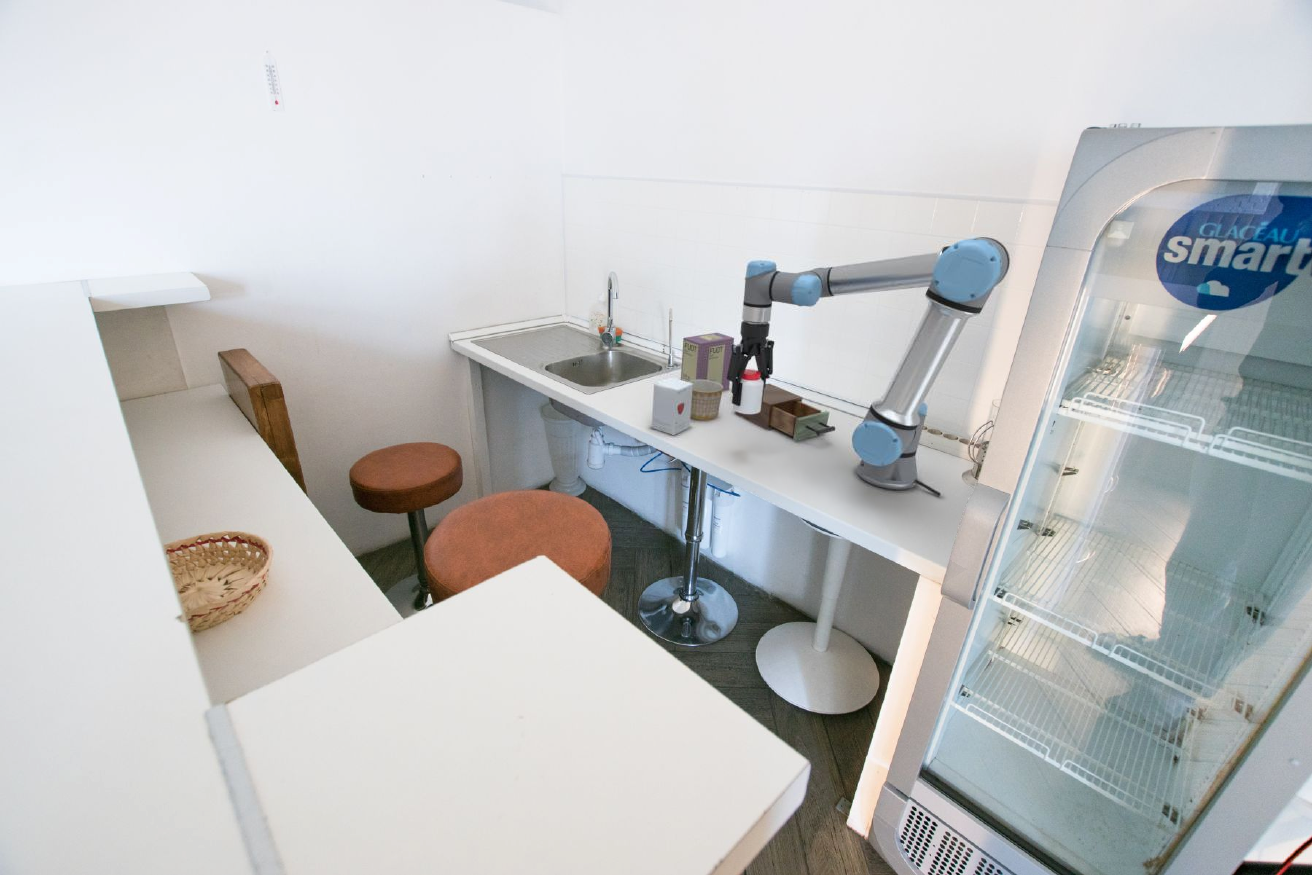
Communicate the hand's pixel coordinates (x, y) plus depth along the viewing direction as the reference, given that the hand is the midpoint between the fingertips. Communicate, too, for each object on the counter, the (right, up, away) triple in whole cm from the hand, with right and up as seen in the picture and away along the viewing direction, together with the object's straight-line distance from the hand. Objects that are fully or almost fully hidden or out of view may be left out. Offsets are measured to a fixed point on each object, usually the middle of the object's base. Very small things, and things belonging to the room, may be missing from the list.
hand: (747, 401), depth 162 cm
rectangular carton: (-21, -7, +20) cm, 30 cm away
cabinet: (+12, -3, +32) cm, 34 cm away
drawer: (+20, -8, +20) cm, 30 cm away
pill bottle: (0, -2, +1) cm, 2 cm away
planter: (-11, -3, +32) cm, 33 cm away
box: (-7, +8, +55) cm, 56 cm away
